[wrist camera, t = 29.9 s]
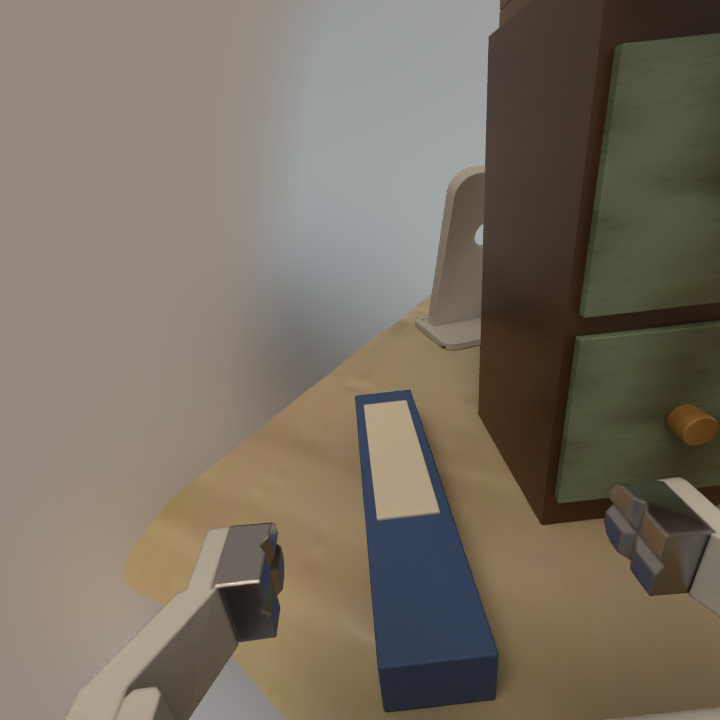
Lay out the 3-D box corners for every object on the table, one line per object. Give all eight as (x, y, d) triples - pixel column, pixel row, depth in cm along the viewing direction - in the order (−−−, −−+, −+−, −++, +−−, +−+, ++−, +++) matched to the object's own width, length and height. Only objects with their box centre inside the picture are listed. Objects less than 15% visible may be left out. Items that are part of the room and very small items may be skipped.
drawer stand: (623, 397, 34) (726, -107, 21) (781, 524, 22) (1243, -469, 9) (478, 414, 34) (491, -81, 21) (555, 550, 22) (697, -411, 9)
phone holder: (529, 300, 57) (541, 155, 49) (584, 323, 48) (608, 151, 40) (412, 323, 54) (405, 171, 46) (447, 352, 45) (446, 170, 37)
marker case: (412, 420, 34) (410, 387, 32) (496, 700, 16) (499, 652, 15) (358, 427, 34) (354, 394, 32) (383, 713, 16) (377, 667, 15)
